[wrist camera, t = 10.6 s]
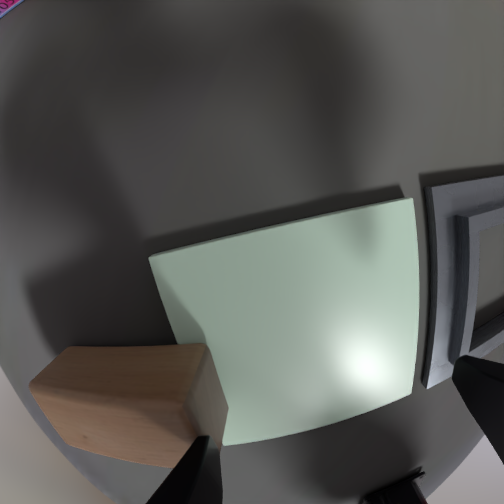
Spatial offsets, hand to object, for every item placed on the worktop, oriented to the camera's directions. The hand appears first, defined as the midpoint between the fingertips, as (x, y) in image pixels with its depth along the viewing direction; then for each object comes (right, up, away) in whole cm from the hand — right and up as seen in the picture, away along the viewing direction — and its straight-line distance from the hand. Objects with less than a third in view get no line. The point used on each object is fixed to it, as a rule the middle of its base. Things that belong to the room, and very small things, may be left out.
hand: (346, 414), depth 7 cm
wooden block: (-4, -1, +2) cm, 5 cm away
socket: (+12, +4, +5) cm, 13 cm away
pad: (0, +1, +5) cm, 5 cm away
